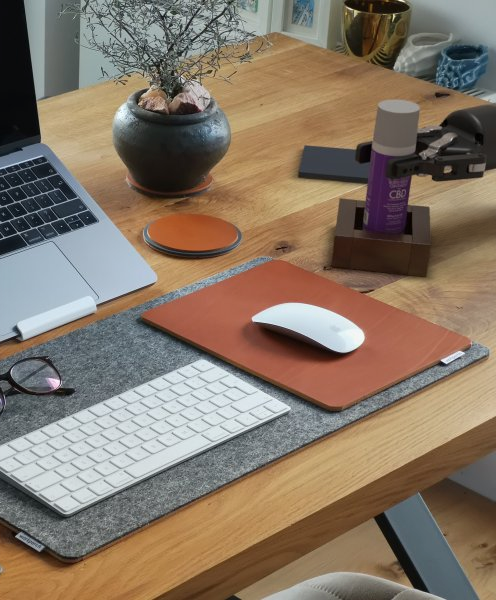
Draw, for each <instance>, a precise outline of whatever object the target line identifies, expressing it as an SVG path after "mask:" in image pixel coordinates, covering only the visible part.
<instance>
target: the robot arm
mask: <svg viewBox="0 0 496 600" xmlns="http://www.w3.org/2000/svg"><path fill="white" fill-rule="evenodd" d="M372 143H373V140H370V141H364V142H360V143H358V144H357V145H356V156H355V160H356V161H357V162H358V163H360V164H363V163H368V162H370V159H371V150H372ZM492 170H496V102H492V103H487V104H482V105H477V106H472V107H466V108H462V109H457V110H454V111H451V112H450V113H449V114H448V115H447V116H446V117H445V118H444V119H443V121H442V122H441V123H440V124H438V125H427V126H424V127H421V128H418V130H417V140H416V149H415V154H411V155H408V156H402V157H398V158H393V159H390V160H388V162H387V166H386V174H385V176H386V177H387V178H388V179H390V180H395V179H399V178H403V177H408V176H412V177H413V176H417V177H420V178H425V177H429V176H431V181H433V182H437V183H439V182H449V181H460V180H461V181H463V180H471V179H481V178H483V177H484V175H485V172H487V171H492ZM445 171H446V172H445ZM447 171H448V172H447Z"/></svg>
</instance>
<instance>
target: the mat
mask: <svg viewBox="0 0 496 600" xmlns="http://www.w3.org/2000/svg"><path fill="white" fill-rule="evenodd" d="M355 156H356V149H354V148H343V147H332V146H321V145H320V146H319V145H308V144H305V145H304V146H303V150H302V155H301V158H300V159H301V160H300V164H299V169H298V175H297V177H298V178H301V179H314V180H325V181H333V182H334V181H335V182H345V183H346V182H347V183H355V184H356V183H357V184H367V185H368V176H369V168H370V162H368V163H363V164H360V163H358V162H357V161H356V160H355Z"/></svg>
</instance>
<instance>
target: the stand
mask: <svg viewBox="0 0 496 600" xmlns="http://www.w3.org/2000/svg"><path fill="white" fill-rule="evenodd" d="M338 201H339V202H338V208H337V215H336V222H335V230H334V237H333V239H334V240H333V248H332V256H331V265H330V266H331V268H340V269H350V270H358V271H367V272H377V273H384V274H395V275H405V276H413V277H414V276H415V277H423V278H426V277H427V272H428V267H429V261H430V254H431V248H432V235H431V210H430V209H431V208H430V206H427V205H415V204H408V208H407V215H406V222H405V229H404V234H393V233H383V232H373V231H363V220H364V211H365V202H366V200H361V199H351V198H341V197H340V198H339V200H338Z"/></svg>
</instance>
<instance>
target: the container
mask: <svg viewBox="0 0 496 600" xmlns="http://www.w3.org/2000/svg"><path fill="white" fill-rule="evenodd" d="M376 108H377V109H376V115H375V116H376V117H375V123H374V129H373V137H372V141H373V143H372V150H371V159H370V168H369V176H368V184H367V185H366V194H365V195H366V196H365V201H366V202H365V211H364V220H363V231H373V232H383V233H393V234H404V229H405V222H406V215H407V208H408V205H409V201H410V200H409V199H410V194H411V193H410V192H411V185H412V178H413V175H412V176H408V177H403V178H399V179H395V180H390V179H388V178H387V177H386V176H385V174H386V166H387V162H388V160H390V159H393V158H398V157H402V156H408V155H411V154H415V149H416V140H417V130H418V129H419V122H420V110H421V106H420V105H419V104H418V103H416V102H414V101H410V100H406V99H385V100H381V101H380V102H379V103H378V104H377V107H376Z"/></svg>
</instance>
